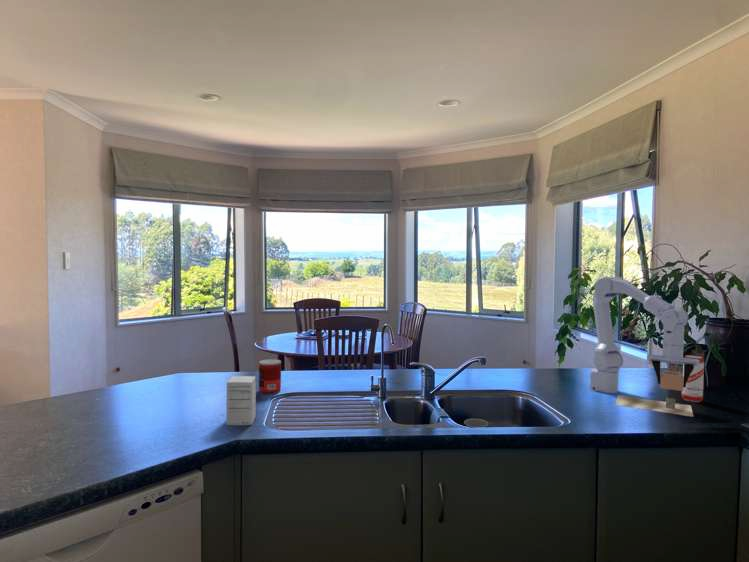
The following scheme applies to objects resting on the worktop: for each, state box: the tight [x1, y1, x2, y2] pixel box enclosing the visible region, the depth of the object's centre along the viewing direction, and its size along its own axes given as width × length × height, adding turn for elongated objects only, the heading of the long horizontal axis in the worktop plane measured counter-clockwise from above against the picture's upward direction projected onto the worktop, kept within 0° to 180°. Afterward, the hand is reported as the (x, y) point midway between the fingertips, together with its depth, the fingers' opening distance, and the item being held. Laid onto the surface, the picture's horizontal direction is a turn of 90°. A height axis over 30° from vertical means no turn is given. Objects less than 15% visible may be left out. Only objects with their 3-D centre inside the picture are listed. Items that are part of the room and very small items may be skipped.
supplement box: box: [226, 375, 257, 426], centre depth 138 cm, size 7×7×13 cm
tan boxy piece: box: [659, 370, 684, 392], centre depth 155 cm, size 6×5×5 cm
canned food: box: [258, 358, 282, 395], centre depth 170 cm, size 8×8×11 cm
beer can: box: [681, 354, 705, 403], centre depth 169 cm, size 6×6×16 cm
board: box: [614, 395, 694, 418], centre depth 158 cm, size 22×14×4 cm, turn 59°
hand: (671, 385), depth 155 cm, fingers closed on tan boxy piece, 6 cm apart
